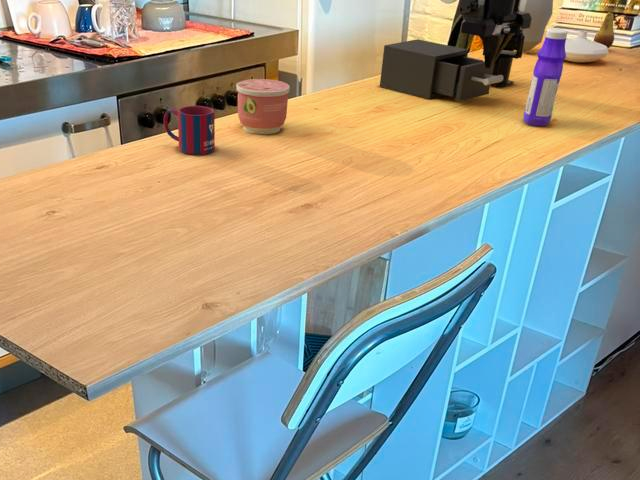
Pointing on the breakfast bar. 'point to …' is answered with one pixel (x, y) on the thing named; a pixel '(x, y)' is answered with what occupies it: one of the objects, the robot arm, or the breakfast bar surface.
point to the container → (262, 105)
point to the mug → (194, 129)
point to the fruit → (606, 31)
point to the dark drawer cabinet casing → (414, 66)
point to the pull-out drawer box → (463, 77)
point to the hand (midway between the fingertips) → (488, 67)
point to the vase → (584, 49)
